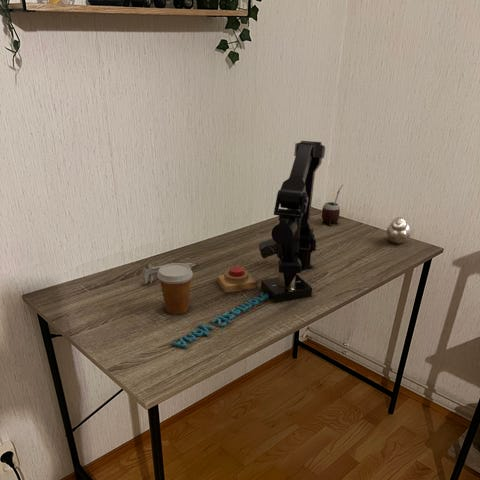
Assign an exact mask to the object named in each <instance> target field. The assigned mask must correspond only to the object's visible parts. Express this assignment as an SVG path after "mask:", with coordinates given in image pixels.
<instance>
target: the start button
mask: <svg viewBox="0 0 480 480" xmlns="http://www.w3.org/2000/svg"><path fill="white" fill-rule="evenodd" d="M228 270H229V275H230V276H233V277H241V276H243V275H244V270H245V269H244V267H242V266H237V265H234V266H231V267H229V269H228Z"/></svg>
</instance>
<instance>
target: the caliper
mask: <svg viewBox="0 0 480 480" xmlns="http://www.w3.org/2000/svg"><path fill="white" fill-rule="evenodd" d="M184 264H185V265H188V266H189V267H190V268H191V269H192V268H194V267H196V266H197V264H195V263H193V262H188V263H184ZM162 266H163V265H157V266H152V264H150V263H149V264H145V268H143V271H142V272H143V273H142V278H143V284H145V285H148V283H149V284H152V283H153V281H154V278H155V275H156V276H157V274H158V272H159V269H160V268H161V267H162Z"/></svg>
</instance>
